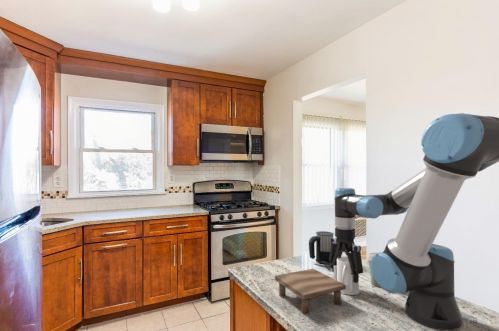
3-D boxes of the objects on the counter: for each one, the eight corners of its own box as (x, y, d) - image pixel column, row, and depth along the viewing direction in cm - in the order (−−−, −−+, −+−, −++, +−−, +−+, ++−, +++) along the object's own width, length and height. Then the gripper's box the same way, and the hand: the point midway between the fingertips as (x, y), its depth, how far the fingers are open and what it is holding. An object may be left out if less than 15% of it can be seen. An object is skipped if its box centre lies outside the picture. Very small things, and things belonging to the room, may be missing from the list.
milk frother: (323, 257, 148) (322, 230, 149) (349, 265, 136) (349, 235, 137) (306, 263, 139) (305, 234, 140) (333, 272, 127) (332, 239, 128)
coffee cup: (392, 290, 107) (391, 259, 108) (368, 287, 110) (368, 257, 111) (388, 281, 116) (388, 253, 116) (366, 279, 118) (366, 251, 119)
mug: (353, 300, 99) (352, 267, 99) (330, 294, 104) (329, 262, 104) (362, 289, 108) (361, 258, 109) (340, 283, 114) (340, 254, 114)
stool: (345, 304, 96) (345, 284, 96) (303, 316, 88) (303, 294, 88) (313, 285, 112) (312, 268, 112) (275, 294, 104) (275, 275, 105)
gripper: (374, 232, 99) (374, 295, 99) (333, 221, 118) (333, 274, 118) (359, 234, 96) (359, 299, 96) (319, 223, 115) (319, 277, 115)
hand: (345, 285), depth 107 cm, fingers closed on mug, 8 cm apart
